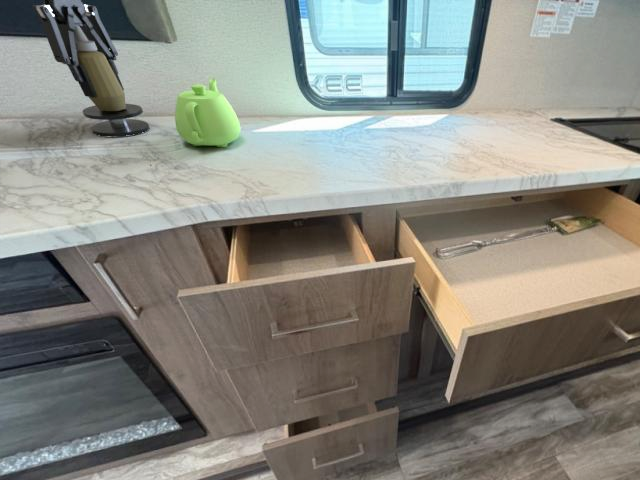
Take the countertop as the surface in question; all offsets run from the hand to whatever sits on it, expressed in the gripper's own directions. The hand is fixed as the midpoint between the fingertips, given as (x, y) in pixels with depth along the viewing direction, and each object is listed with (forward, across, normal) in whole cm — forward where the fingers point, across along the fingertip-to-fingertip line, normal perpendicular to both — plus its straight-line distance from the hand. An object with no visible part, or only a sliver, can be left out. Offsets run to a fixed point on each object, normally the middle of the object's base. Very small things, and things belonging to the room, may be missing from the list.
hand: (105, 92), depth 86 cm
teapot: (+9, +2, -26) cm, 28 cm away
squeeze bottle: (+4, 0, 0) cm, 4 cm away
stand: (+9, 0, 0) cm, 9 cm away
